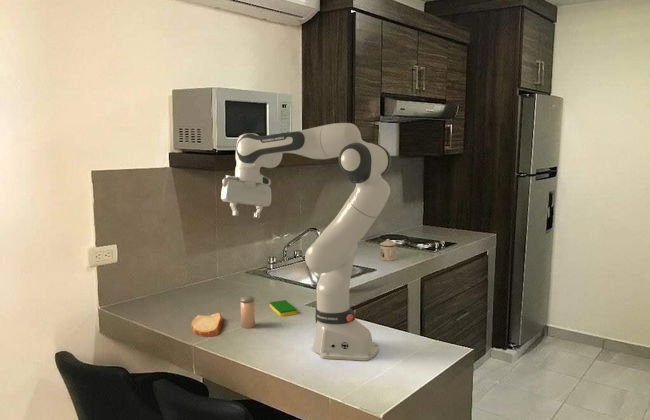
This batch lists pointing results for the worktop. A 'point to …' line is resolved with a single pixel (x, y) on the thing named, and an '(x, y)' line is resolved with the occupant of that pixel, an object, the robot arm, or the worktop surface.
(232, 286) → the worktop surface
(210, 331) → the slice of bread
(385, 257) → the teacup with lid
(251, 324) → the grey-capped jar
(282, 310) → the dish sponge
